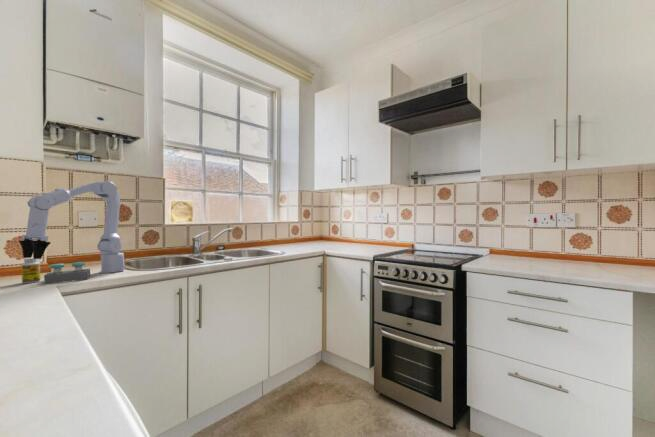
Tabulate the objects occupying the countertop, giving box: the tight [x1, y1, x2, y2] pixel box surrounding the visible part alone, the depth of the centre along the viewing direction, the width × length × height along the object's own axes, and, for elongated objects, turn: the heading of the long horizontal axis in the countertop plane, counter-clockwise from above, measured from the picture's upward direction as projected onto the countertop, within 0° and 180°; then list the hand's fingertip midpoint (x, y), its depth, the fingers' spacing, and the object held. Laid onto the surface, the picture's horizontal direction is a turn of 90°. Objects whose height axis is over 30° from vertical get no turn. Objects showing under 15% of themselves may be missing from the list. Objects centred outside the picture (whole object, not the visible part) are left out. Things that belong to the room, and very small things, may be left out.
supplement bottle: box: [21, 256, 41, 284], centre depth 127 cm, size 6×6×10 cm
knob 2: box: [71, 261, 86, 272], centre depth 133 cm, size 5×5×4 cm
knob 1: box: [49, 263, 66, 274], centre depth 129 cm, size 5×5×4 cm
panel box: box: [43, 268, 91, 284], centre depth 131 cm, size 14×8×3 cm, turn 122°
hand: (32, 258), depth 122 cm, fingers open, 7 cm apart
